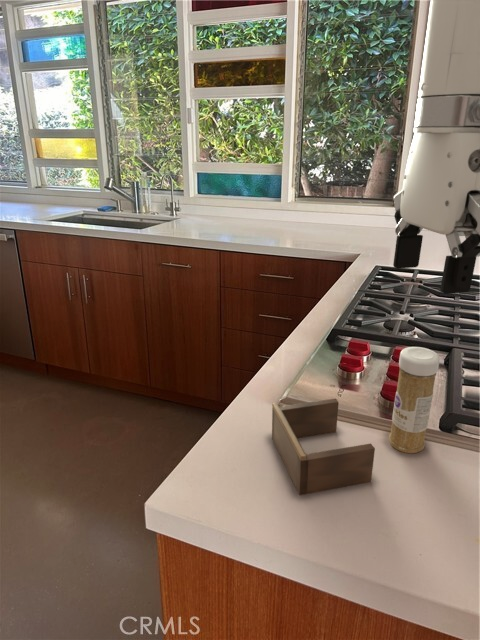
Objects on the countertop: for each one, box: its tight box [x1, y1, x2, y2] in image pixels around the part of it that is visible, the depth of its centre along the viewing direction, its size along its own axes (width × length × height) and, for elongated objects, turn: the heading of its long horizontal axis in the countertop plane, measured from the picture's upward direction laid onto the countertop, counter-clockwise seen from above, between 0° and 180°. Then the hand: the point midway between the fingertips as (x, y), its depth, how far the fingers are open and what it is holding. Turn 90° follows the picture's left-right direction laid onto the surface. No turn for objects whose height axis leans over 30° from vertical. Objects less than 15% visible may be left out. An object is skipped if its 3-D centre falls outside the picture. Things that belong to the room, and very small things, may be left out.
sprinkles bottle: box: [388, 346, 441, 454], centre depth 59 cm, size 5×5×14 cm
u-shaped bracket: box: [271, 398, 376, 496], centre depth 58 cm, size 9×11×6 cm
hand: (428, 278), depth 54 cm, fingers open, 9 cm apart
